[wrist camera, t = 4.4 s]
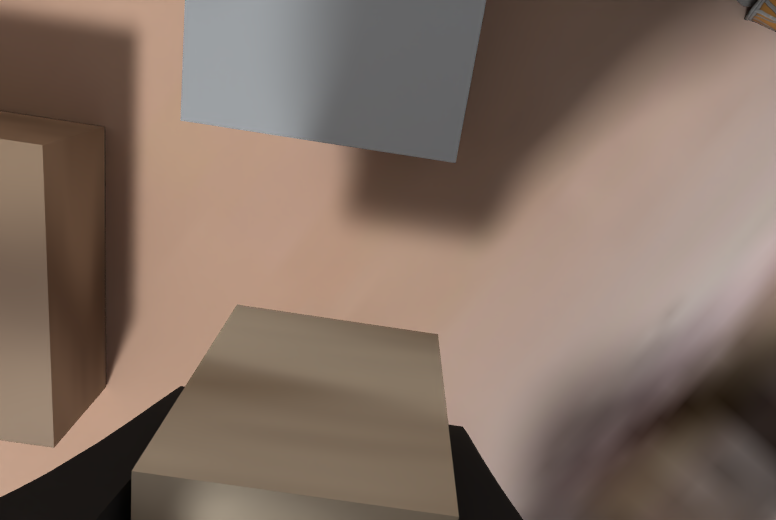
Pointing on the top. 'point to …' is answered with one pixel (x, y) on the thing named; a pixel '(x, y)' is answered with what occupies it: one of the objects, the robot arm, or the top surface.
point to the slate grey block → (334, 70)
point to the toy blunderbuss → (761, 12)
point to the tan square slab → (50, 275)
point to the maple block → (304, 427)
